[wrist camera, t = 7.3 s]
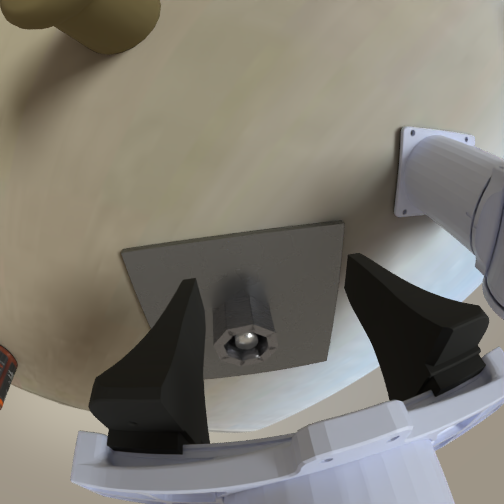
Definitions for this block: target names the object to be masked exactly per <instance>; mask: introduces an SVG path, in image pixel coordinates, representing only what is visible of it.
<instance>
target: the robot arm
mask: <svg viewBox="0 0 504 504" xmlns="http://www.w3.org/2000/svg"><path fill="white" fill-rule="evenodd" d="M411 131H412V132H413V133H412V135H411V134H410V133H411ZM403 210H405V211H404V212H403ZM394 214H395V215H396V216H397V217H408V216H418V215H427V216H428V217H430V218H431V219H432V220H433V221H435V222H436V223H437V224H439V225H440V226H441V227H442V228H444V229H445V230H446V231H447V232H448V233H450V234H451V235H452V236H453V237H454V238H456V239H457V240H458V241H459V242H460V243H461V244H463V245H464V246H465V247H466V248H467V249H468V250H469V251H471V252H472V253H473V254H474V255H475V256H476V263H475V267H476V268H477V269H478V270H479V271H480V272H481V273H482V274H483V275H484V278H483V284H482V286H483V293H484V296H485V299H486V300H487V302H488V304H489V305H490V307H491V308H492V309H493V311H494V312H495V313H496V314H497V315H498V316H499V317H501V318H502V319H503V320H504V159H502V158H500V157H498V156H496V155H494V154H491V153H489V152H487V151H484V150H482V149H480V148H477V147H475V137H474V136H473V135H470V134H464V133H458V132H452V131H445V130H437V129H429V128H421V127H411V126H404V127H403V128H402V129H401V142H400V159H399V171H398V182H397V191H396V199H395V207H394ZM344 289H345V291H346V294H347V297H348V299H349V302H350V304H351V306H352V308H353V310H354V312H355V314H356V315H357V317H358V319H359V321H360V323H361V324H362V326H363V328H364V330H365V332H366V334H367V335H368V337H369V339H370V341H371V344H372V346H373V348H374V351H375V354H376V356H377V359H378V362H379V365H380V368H381V371H382V374H383V377H384V380H385V384H386V388H387V391H388V396H389V400H390V401H386V402H383V403H380V404H377V405H374V406H371V407H368V408H365V409H361V410H358V411H355V412H351V413H348V414H344V415H341V416H337V417H334V418H329V419H326V420H321V421H318V422H315V423H312V424H309V425H307V426H305V427H303V428H301V429H300V430H298V431H297V432H296V433H291V434H286V435H280V436H274V437H269V438H261V439H254V440H246V441H238V442H226V443H212V444H210V440H209V433H208V425H207V417H206V407H205V396H204V381H203V366H204V350H205V335H206V322H205V309H204V306H203V302H202V299H201V295H200V291H199V288H198V284H197V280H196V278H191V279H184V280H182V282H181V283H180V285H179V287H178V289H177V290H176V292H175V294H174V296H173V297H172V299H171V301H170V302H169V304H168V306H167V307H166V309H165V310H164V312H163V313H162V315H161V316H160V318H159V319H158V321H157V322H156V323H155V325H154V326H153V327H152V329H151V330H150V331H149V332H148V334H147V335H146V336H145V337H144V338H143V339H142V340H141V341H140V342H139V343H138V344H137V345H136V346H135V347H134V348H133V349H132V350H131V351H130V352H129V353H128V354H127V355H126V356H125V357H124V358H122V359H121V360H120V361H119V362H117V363H116V364H115V365H114V366H112V367H111V368H109V369H108V370H106V371H105V372H104V373H102V374H101V375H99V376H98V377H96V379H95V382H94V385H93V388H92V393H91V397H90V402H89V406H88V407H89V409H90V411H91V413H92V414H93V415H94V416H95V417H96V418H97V419H98V420H99V421H100V422H101V423H103V424H104V425H105V426H106V427H107V428H108V429H109V432H108V436H107V435H104V434H101V433H95V432H87V431H78V436H77V441H76V447H75V452H74V459H73V465H72V472H71V482H73V483H75V484H77V485H79V486H81V487H83V488H86V489H88V490H90V491H92V492H95V493H97V494H99V495H102V496H105V497H110V498H115V499H120V500H126V501H132V502H138V503H145V504H455V503H454V500H453V497H452V494H451V492H450V489H449V486H448V483H447V481H446V478H445V476H444V473H443V470H442V468H441V465H440V463H439V460H438V458H437V455H436V453H435V451H436V450H438V449H440V448H441V447H443V446H445V445H446V444H448V443H450V442H451V441H453V440H454V439H456V438H457V437H459V436H461V435H462V434H463V433H465V432H466V431H468V430H470V429H471V428H473V427H474V426H476V425H477V424H478V423H480V422H481V421H483V420H484V419H485V418H487V417H488V416H490V415H491V414H492V413H494V412H495V411H496V410H497V409H499V408H500V407H501V406H502V405H503V404H504V352H503V350H502V349H501V348H500V347H497V348H496V349H494V350H492V351H491V352H489V353H487V354H486V355H484V356H483V357H482V358H481V357H480V356H479V353H480V352H481V350H480V348H479V347H478V344H479V342H480V340H481V339H482V337H483V335H484V333H485V332H486V330H487V327H488V324H489V318H488V316H487V315H486V314H485V312H484V311H483V310H482V309H481V307H480V306H478V305H473V304H467V303H462V302H458V301H455V300H451V299H447V298H444V297H441V296H438V295H436V294H433V293H430V292H428V291H425V290H423V289H421V288H419V287H417V286H415V285H413V284H411V283H409V282H407V281H405V280H403V279H401V278H400V277H398V276H396V275H395V274H393V273H391V272H390V271H388V270H386V269H385V268H383V267H382V266H380V265H378V264H377V263H375V262H374V261H372V260H370V259H369V258H367V257H366V256H364V255H362V254H360V253H356V254H350V255H348V260H347V269H346V278H345V287H344Z"/></svg>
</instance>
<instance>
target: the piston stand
mask: <svg viewBox="0 0 504 504" xmlns="http://www.w3.org/2000/svg"><path fill="white" fill-rule="evenodd" d="M343 236H344V222H343V221H342V220H341V221H332V222H323V223H314V224H306V225H297V226H289V227H281V228H272V229H264V230H256V231H249V232H241V233H233V234H225V235H218V236H211V237H203V238H196V239H189V240H182V241H175V242H168V243H161V244H154V245H147V246H140V247H134V248H127V249H123V250H122V252H121V254H122V257H123V260H124V263H125V266H126V268H127V271H128V274H129V277H130V279H131V282H132V284H133V287H134V289H135V292H136V295H137V297H138V299H139V302H140V304H141V307H142V309H143V311H144V314H145V316H146V318H147V321H148V323H149V325H150V328H151V329H152V327H153V326H154V325H155V323H156V322H157V321H158V319H159V318H160V316H161V315H162V313H163V312H164V310H165V309H166V307H167V306H168V304H169V302H170V301H171V299H172V297H173V296H174V294H175V292H176V290H177V289H178V287H179V285H180V283H181V282H182V280H184V279H191V278H196V280H197V284H198V288H199V291H200V295H201V299H202V302H203V306H204V309H205V322H206V335H205V350H204V366H203V379H213V378H223V377H232V376H240V375H248V374H255V373H262V372H269V371H275V370H281V369H287V368H293V367H298V366H303V365H309V364H313V363H318V362H323V361H327V356H328V350H329V345H330V339H331V333H332V327H333V320H334V314H335V307H336V300H337V292H338V284H339V276H340V267H341V258H342V248H343ZM245 296H251V297H253V298H255V299H258V300H260V301H262V302H264V303H267V304H269V308H270V312H271V316H272V320H273V324H274V328H275V332H276V337H277V342H278V347H279V348H278V349H277V350H276V351H275V352H274V353H273V354H272V355H271V356H270V357H269V358H268V359H267V360H266V361H264V362H261V363H256V364H251V365H246V366H238V365H235V364H231V363H228V362H225V361H222V360H220V358H219V356H218V354H217V352H216V350H215V348H214V345H213V315H214V314H215V313H216V311H217V310H218V309H219V307H220V306H221V305H222V304H223V302H224V301H226V300H231V299H236V298H240V297H245ZM234 336H235V344H236V346H237V347H238V348H240V349H251V348H253V347H255V346H256V345H257V344H258V338H257V334H256V333H254V332H248V333H243V334H238V335H234Z"/></svg>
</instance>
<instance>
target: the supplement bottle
mask: <svg viewBox="0 0 504 504" xmlns="http://www.w3.org/2000/svg"><path fill="white" fill-rule="evenodd" d="M16 369H17V362H16V360H15V358H14V357H13V356H12V355H11V353H10V352H9V351H8V350H6V349H5V348H4V347H2V346H1V345H0V410H1V408H2V406H3V403H4V400H5V398H6V395H7V392H8V389H9V387H10V384H11V382H12V379H13V377H14V374H15V372H16Z"/></svg>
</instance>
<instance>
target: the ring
mask: <svg viewBox="0 0 504 504" xmlns="http://www.w3.org/2000/svg"><path fill="white" fill-rule="evenodd" d="M248 332H254V333H256V334H257V338H258V344H257V345H256V346H255V347H253V348H251V349H240V348H238V347H237V346H236V344H235V336H234V335H238V334H243V333H248ZM213 345H214V348H215V350H216V352H217V354H218V356H219V358H220V360H222V361H225V362H228V363H231V364H235V365H238V366H246V365H251V364H256V363H261V362H264V361H266V360H267V359H268V358H269V357H270V356H271V355H272V354H273V353H274V352H275V351H276V350H277V349H278V348H279V347H278V342H277V337H276V332H275V328H274V324H273V320H272V316H271V312H270V308H269V304H267V303H264V302H262V301H260V300H258V299H255V298H253V297H251V296H245V297H240V298H236V299H231V300H226V301H224V302H223V304H222V305H221V306H220V307H219V309H218V310H217V311H216V313H215V314H214V315H213Z"/></svg>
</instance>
